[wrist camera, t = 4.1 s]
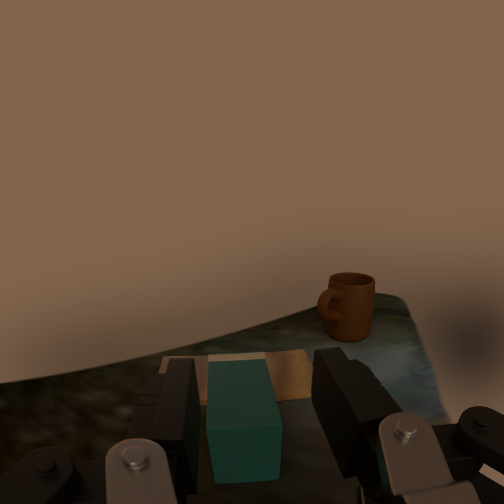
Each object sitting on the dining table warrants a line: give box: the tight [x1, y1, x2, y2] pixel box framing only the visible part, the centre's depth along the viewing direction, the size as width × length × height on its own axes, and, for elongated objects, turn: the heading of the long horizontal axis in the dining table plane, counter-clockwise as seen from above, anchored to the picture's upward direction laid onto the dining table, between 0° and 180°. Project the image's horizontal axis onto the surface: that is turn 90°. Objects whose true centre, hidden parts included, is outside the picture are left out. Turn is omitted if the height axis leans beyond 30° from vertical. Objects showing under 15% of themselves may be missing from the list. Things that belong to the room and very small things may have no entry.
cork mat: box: [159, 349, 313, 406], centre depth 37 cm, size 20×10×1 cm, turn 96°
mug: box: [317, 273, 375, 342], centre depth 47 cm, size 12×8×9 cm, turn 130°
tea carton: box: [206, 351, 283, 484], centre depth 26 cm, size 6×11×8 cm, turn 6°
